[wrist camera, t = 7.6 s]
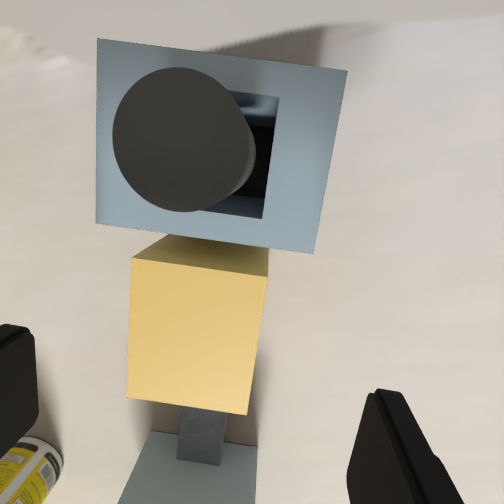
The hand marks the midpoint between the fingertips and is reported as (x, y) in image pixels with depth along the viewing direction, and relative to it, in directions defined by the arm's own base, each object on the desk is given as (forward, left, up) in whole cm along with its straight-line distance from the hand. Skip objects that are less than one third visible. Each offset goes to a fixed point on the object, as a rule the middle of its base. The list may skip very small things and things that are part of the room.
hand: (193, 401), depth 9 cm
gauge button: (+1, -7, -4) cm, 8 cm away
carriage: (+1, 0, -12) cm, 12 cm away
